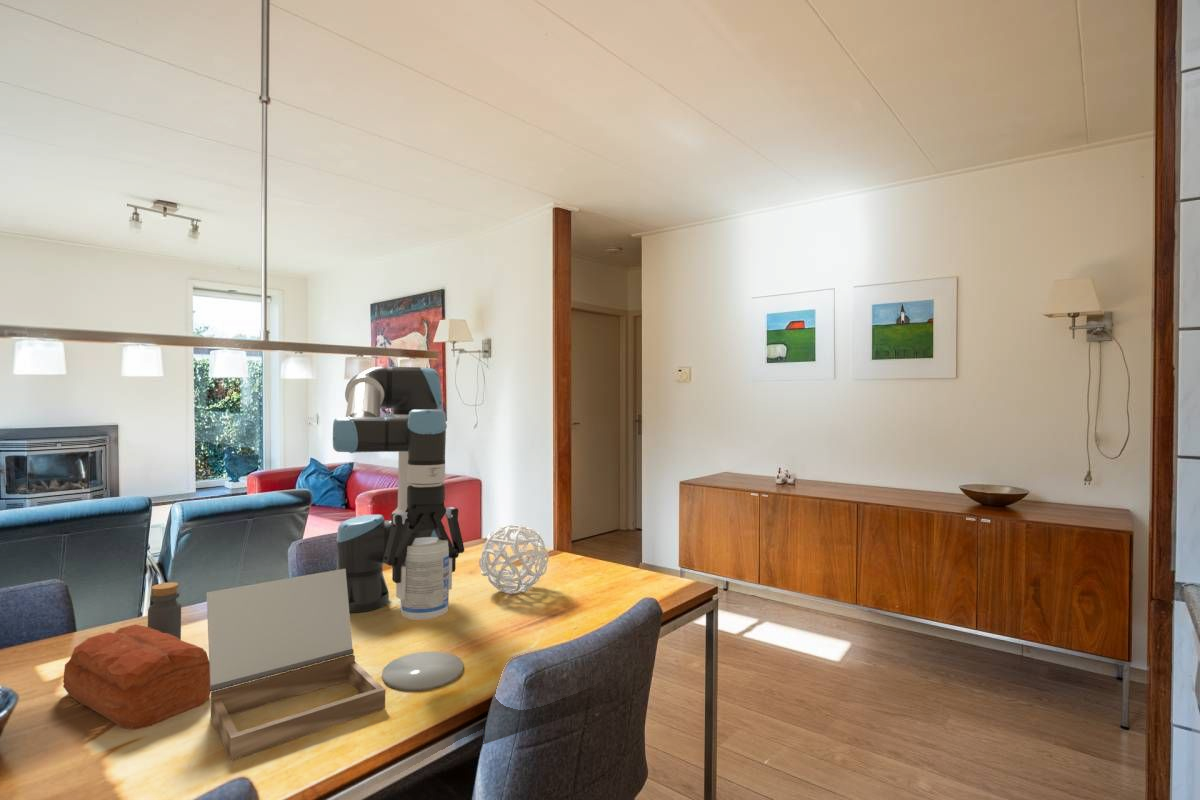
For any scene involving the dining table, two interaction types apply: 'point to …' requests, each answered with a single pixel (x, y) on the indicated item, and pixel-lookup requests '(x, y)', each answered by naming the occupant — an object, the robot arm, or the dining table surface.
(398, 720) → the dining table surface
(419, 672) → the saucer
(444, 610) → the supplement tub
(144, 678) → the bread
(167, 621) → the bottle
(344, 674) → the tray
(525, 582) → the decorative ball
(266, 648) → the lid
